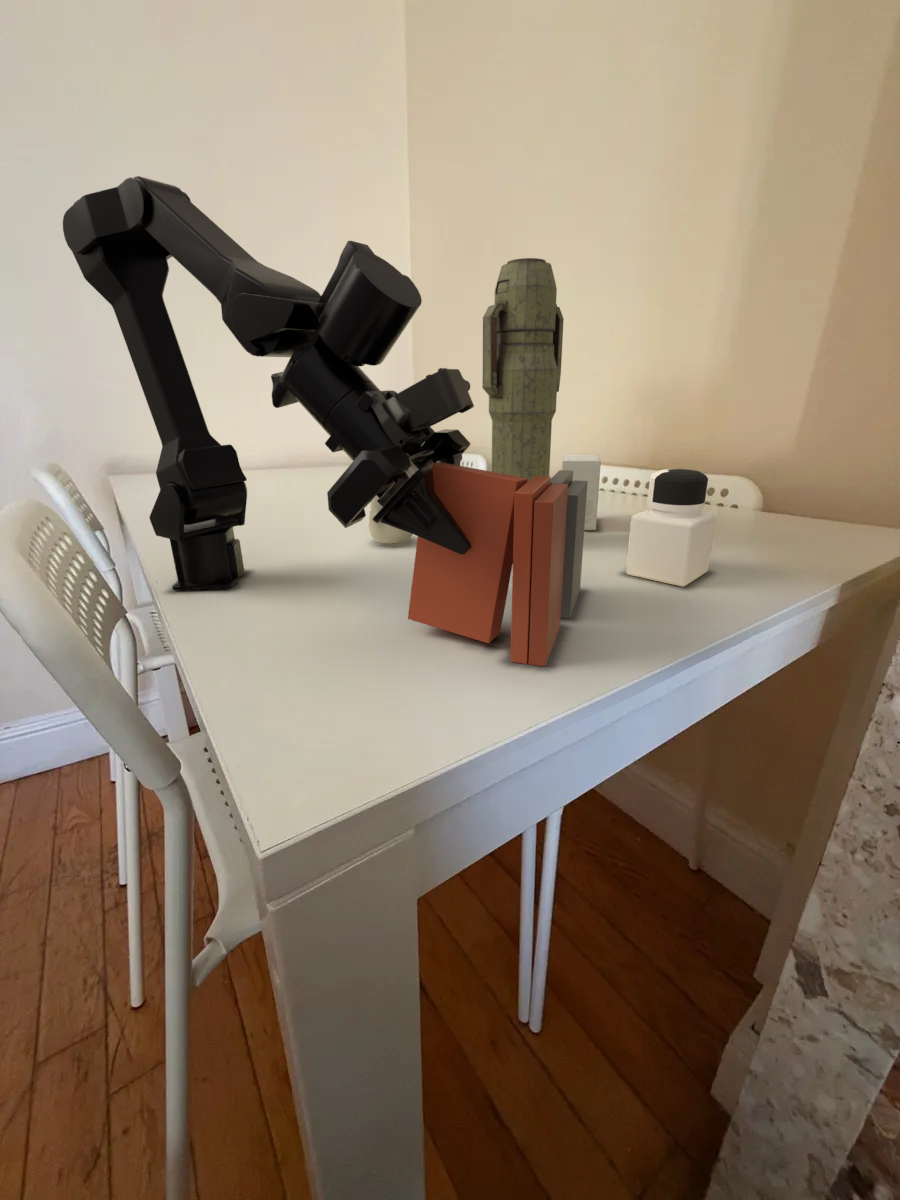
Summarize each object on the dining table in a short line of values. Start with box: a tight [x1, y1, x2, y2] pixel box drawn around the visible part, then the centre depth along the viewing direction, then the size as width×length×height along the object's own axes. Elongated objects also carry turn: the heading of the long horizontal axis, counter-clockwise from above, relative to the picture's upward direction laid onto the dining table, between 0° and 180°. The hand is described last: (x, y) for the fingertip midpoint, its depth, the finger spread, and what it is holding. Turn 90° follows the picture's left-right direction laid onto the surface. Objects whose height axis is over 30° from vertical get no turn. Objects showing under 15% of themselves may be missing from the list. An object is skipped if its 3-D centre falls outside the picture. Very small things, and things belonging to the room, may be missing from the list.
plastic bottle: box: [368, 495, 414, 545], centre depth 79 cm, size 6×7×20 cm
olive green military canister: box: [482, 257, 565, 481], centre depth 75 cm, size 9×12×35 cm
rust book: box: [407, 462, 528, 644], centre depth 49 cm, size 8×3×14 cm, turn 65°
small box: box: [561, 454, 602, 531], centre depth 88 cm, size 8×6×10 cm
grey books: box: [550, 469, 588, 620], centre depth 57 cm, size 3×8×13 cm, turn 161°
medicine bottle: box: [625, 468, 717, 587], centre depth 65 cm, size 7×7×12 cm
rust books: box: [510, 475, 568, 667], centre depth 47 cm, size 3×8×14 cm, turn 161°
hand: (474, 544), depth 49 cm, fingers closed on rust book, 4 cm apart
